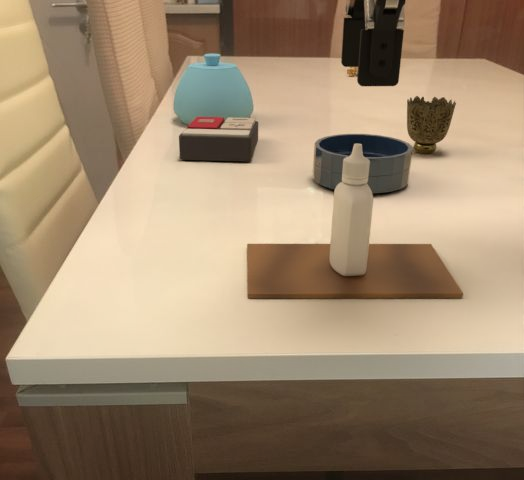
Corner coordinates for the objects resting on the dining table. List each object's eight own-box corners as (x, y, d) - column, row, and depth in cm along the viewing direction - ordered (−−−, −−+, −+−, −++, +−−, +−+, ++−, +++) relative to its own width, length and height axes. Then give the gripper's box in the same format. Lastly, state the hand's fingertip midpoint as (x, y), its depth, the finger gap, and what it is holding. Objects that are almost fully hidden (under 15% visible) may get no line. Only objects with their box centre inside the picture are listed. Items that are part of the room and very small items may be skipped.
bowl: (397, 168, 96) (401, 133, 93) (417, 196, 85) (422, 158, 82) (309, 167, 96) (310, 133, 93) (317, 196, 84) (320, 158, 82)
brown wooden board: (430, 248, 70) (431, 243, 70) (462, 298, 60) (463, 293, 59) (247, 247, 69) (247, 243, 69) (247, 298, 59) (247, 293, 59)
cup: (446, 147, 107) (454, 96, 103) (449, 159, 101) (458, 105, 96) (400, 145, 108) (407, 94, 104) (401, 156, 102) (407, 103, 97)
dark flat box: (258, 116, 108) (251, 132, 95) (258, 142, 110) (250, 161, 97) (194, 114, 109) (177, 130, 96) (195, 140, 111) (179, 159, 98)
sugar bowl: (255, 129, 116) (256, 59, 110) (172, 129, 115) (168, 59, 109) (251, 112, 129) (251, 48, 123) (176, 112, 128) (172, 48, 122)
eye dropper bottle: (374, 259, 66) (388, 139, 60) (362, 281, 61) (375, 154, 55) (333, 252, 67) (342, 135, 61) (318, 273, 63) (326, 149, 56)
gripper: (476, -206, 39) (436, 94, 48) (412, -164, 53) (391, 60, 62) (352, -206, 39) (336, 95, 48) (322, -164, 53) (314, 60, 62)
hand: (367, 75), depth 55 cm, fingers open, 9 cm apart
